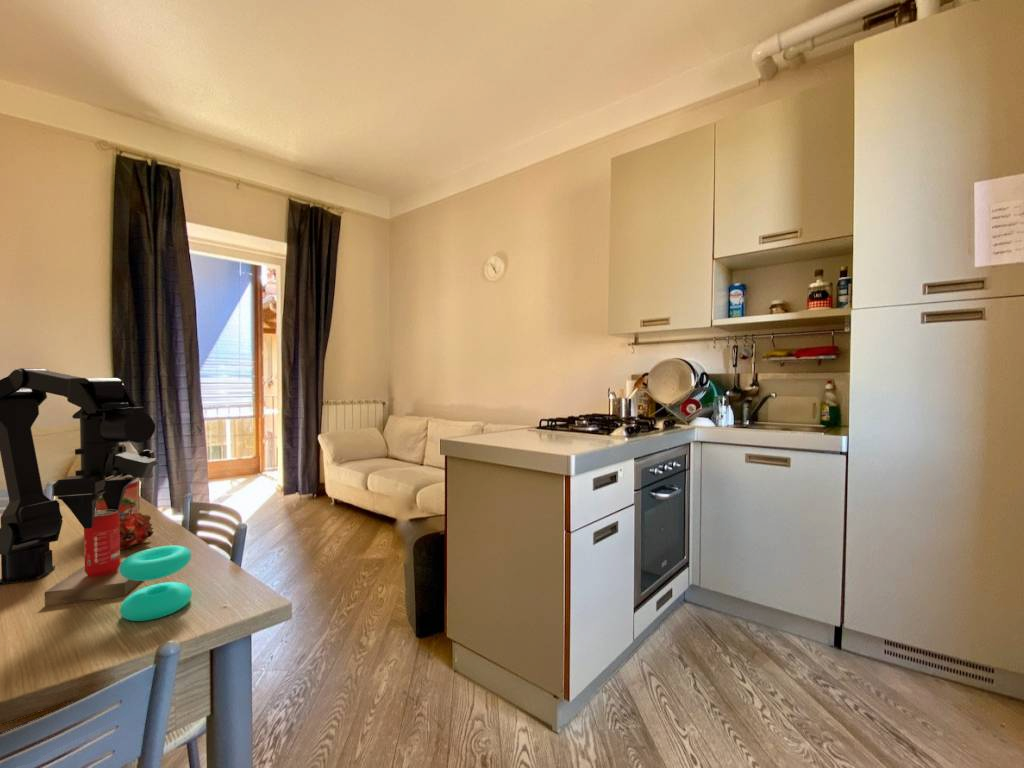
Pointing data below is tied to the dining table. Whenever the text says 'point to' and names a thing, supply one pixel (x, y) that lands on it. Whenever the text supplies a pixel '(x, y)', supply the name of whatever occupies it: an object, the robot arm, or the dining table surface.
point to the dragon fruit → (134, 529)
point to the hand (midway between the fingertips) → (101, 521)
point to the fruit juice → (130, 496)
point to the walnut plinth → (89, 588)
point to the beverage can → (102, 544)
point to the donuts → (157, 596)
